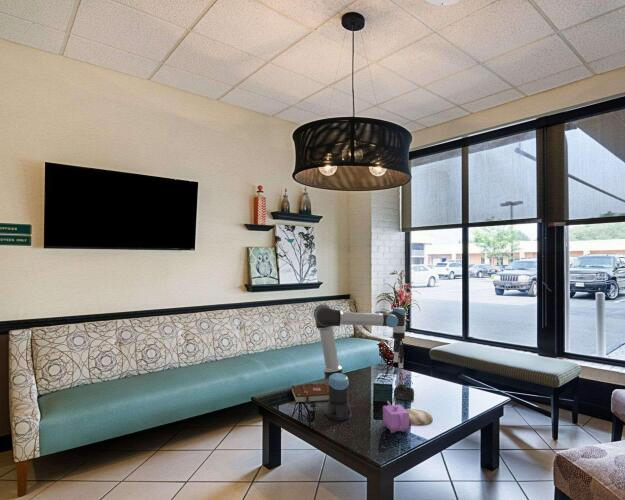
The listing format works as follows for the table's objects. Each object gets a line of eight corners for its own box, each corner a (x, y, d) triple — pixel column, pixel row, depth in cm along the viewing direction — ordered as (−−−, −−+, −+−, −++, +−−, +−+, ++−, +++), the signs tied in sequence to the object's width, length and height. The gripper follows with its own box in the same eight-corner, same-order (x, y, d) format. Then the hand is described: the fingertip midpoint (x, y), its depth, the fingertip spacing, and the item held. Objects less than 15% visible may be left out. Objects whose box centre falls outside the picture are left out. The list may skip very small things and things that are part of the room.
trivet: (409, 427, 213) (409, 425, 213) (391, 413, 232) (391, 411, 232) (439, 422, 219) (439, 420, 219) (419, 409, 238) (419, 407, 238)
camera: (412, 396, 260) (412, 381, 260) (415, 401, 250) (415, 386, 250) (392, 395, 261) (392, 380, 262) (394, 400, 252) (394, 385, 252)
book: (343, 400, 253) (343, 392, 253) (296, 403, 248) (296, 395, 248) (334, 388, 276) (334, 381, 276) (291, 391, 270) (291, 384, 270)
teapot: (411, 435, 203) (411, 411, 204) (393, 436, 201) (393, 412, 202) (395, 419, 223) (395, 397, 223) (379, 420, 221) (379, 399, 221)
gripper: (409, 336, 234) (409, 370, 234) (400, 328, 259) (399, 359, 259) (397, 335, 234) (396, 370, 234) (389, 328, 259) (388, 359, 259)
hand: (398, 365), depth 246 cm, fingers open, 13 cm apart
